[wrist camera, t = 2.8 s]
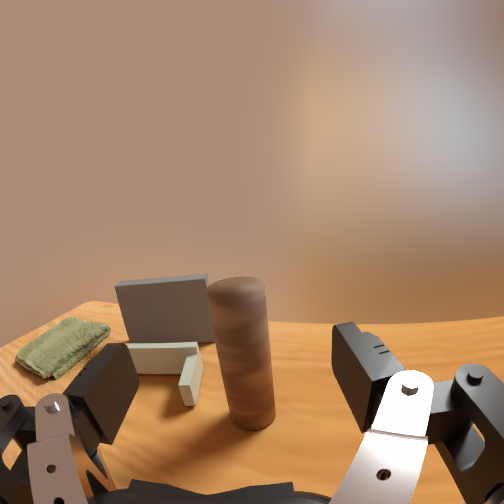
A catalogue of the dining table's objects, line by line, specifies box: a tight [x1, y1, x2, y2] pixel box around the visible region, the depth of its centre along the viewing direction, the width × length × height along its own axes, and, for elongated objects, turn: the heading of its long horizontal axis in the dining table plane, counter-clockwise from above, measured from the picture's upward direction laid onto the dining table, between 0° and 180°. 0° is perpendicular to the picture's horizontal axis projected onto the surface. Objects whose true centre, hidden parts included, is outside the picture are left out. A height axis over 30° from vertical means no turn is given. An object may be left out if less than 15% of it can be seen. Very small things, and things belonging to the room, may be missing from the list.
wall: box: [115, 274, 215, 343], centre depth 39 cm, size 14×2×10 cm, turn 92°
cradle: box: [124, 342, 203, 406], centre depth 28 cm, size 12×7×4 cm, turn 92°
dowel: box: [206, 277, 276, 431], centre depth 22 cm, size 4×4×14 cm
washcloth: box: [15, 317, 110, 380], centre depth 36 cm, size 13×18×3 cm
